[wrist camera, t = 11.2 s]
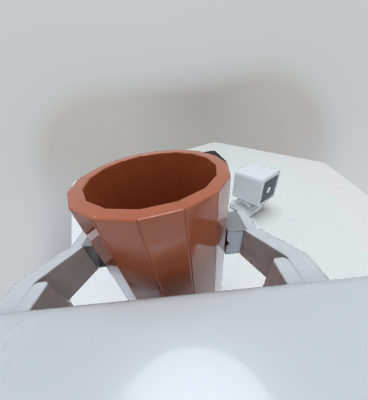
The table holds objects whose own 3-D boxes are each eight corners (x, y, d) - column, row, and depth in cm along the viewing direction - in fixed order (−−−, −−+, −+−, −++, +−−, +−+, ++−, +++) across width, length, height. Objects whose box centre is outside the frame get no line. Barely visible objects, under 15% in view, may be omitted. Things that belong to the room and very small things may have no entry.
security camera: (254, 221, 32) (263, 180, 27) (228, 207, 37) (231, 169, 32) (270, 209, 35) (281, 169, 30) (244, 198, 40) (249, 161, 34)
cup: (116, 301, 11) (35, 191, 6) (168, 240, 15) (148, 147, 10) (195, 366, 8) (169, 257, 3) (231, 266, 12) (246, 153, 7)
